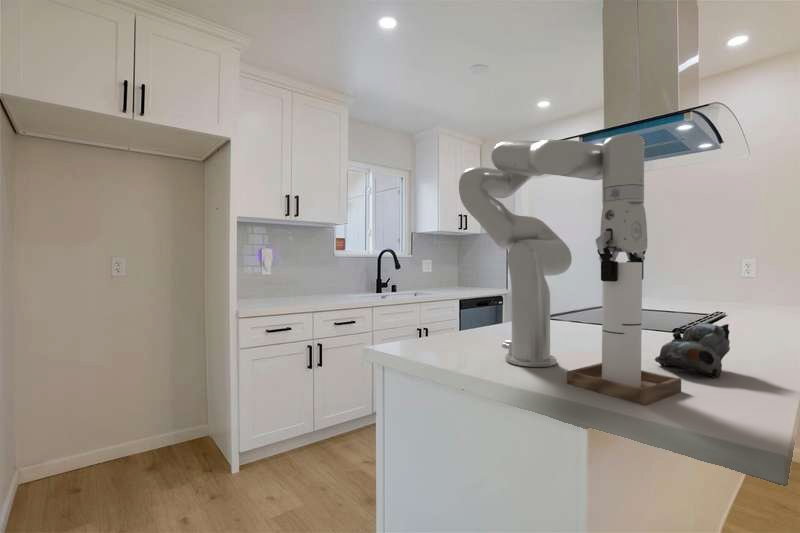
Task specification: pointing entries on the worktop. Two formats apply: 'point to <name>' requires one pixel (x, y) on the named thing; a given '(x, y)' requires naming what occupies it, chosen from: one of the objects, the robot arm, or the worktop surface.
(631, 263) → the cylindrical container
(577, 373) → the walnut tray
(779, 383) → the worktop surface
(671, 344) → the dark grey lumpy shape
